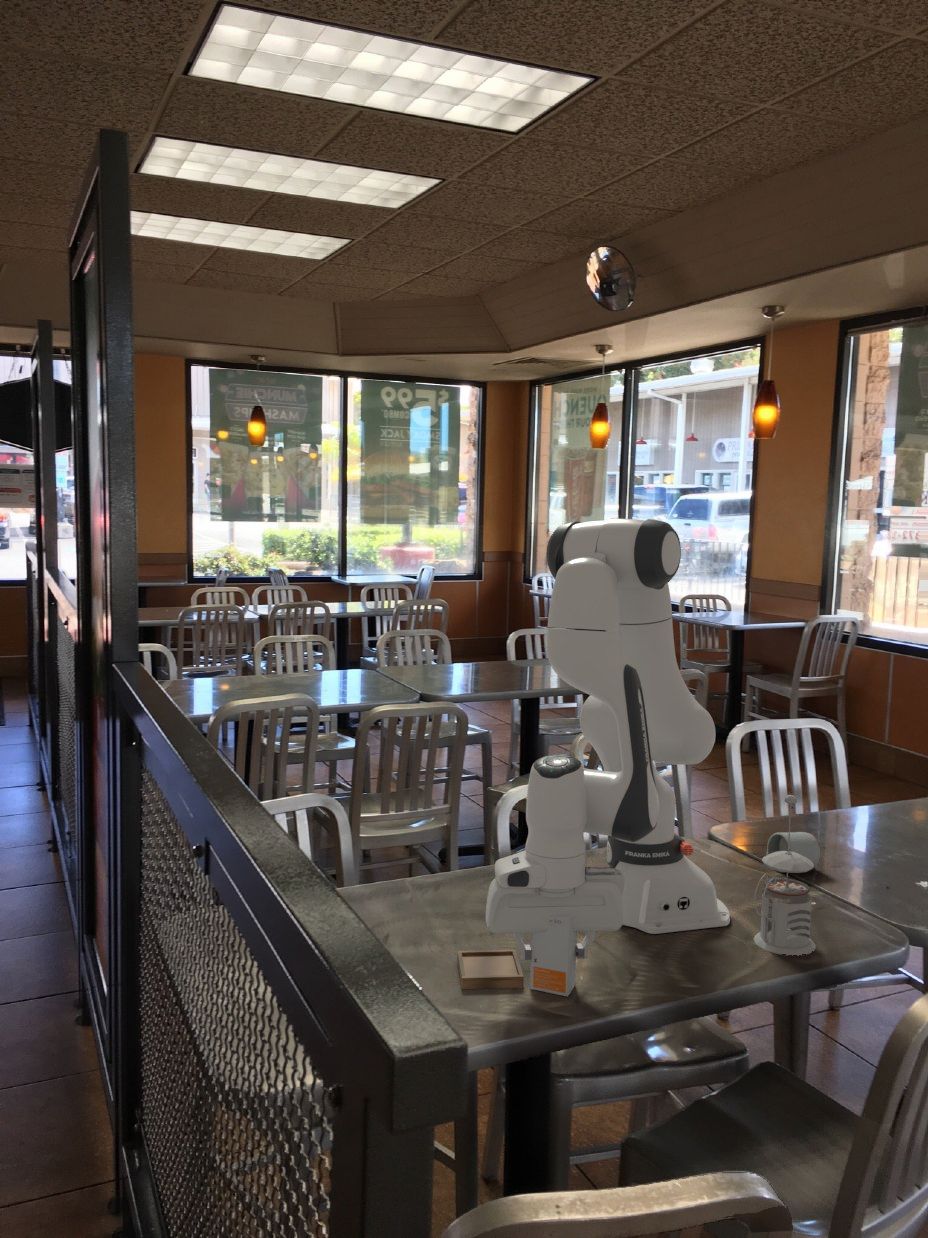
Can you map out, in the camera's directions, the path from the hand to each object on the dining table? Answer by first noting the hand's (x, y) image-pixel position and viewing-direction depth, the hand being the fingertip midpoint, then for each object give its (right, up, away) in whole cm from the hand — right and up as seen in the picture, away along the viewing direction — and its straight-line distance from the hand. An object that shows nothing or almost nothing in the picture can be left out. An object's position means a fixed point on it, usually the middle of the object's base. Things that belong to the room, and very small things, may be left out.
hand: (553, 958), depth 147 cm
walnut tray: (-9, -4, +5) cm, 11 cm away
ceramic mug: (+52, 0, +53) cm, 74 cm away
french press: (+39, -4, +16) cm, 42 cm away
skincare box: (0, -5, +1) cm, 5 cm away
